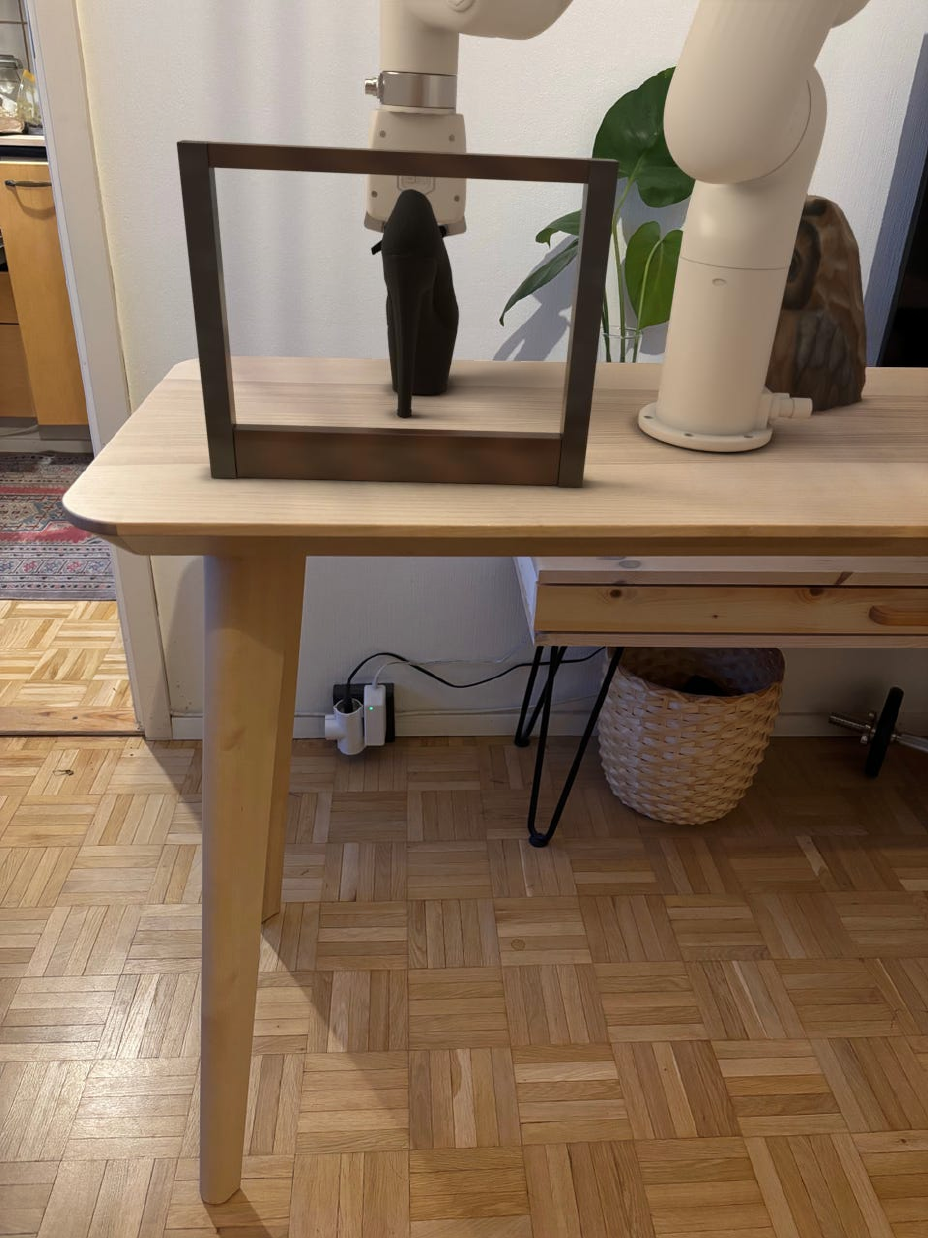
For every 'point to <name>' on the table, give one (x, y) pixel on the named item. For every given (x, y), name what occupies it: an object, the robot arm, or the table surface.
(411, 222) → the high-heeled shoe
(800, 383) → the owl
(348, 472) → the wooden picture frame
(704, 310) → the robot arm
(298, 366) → the table surface
